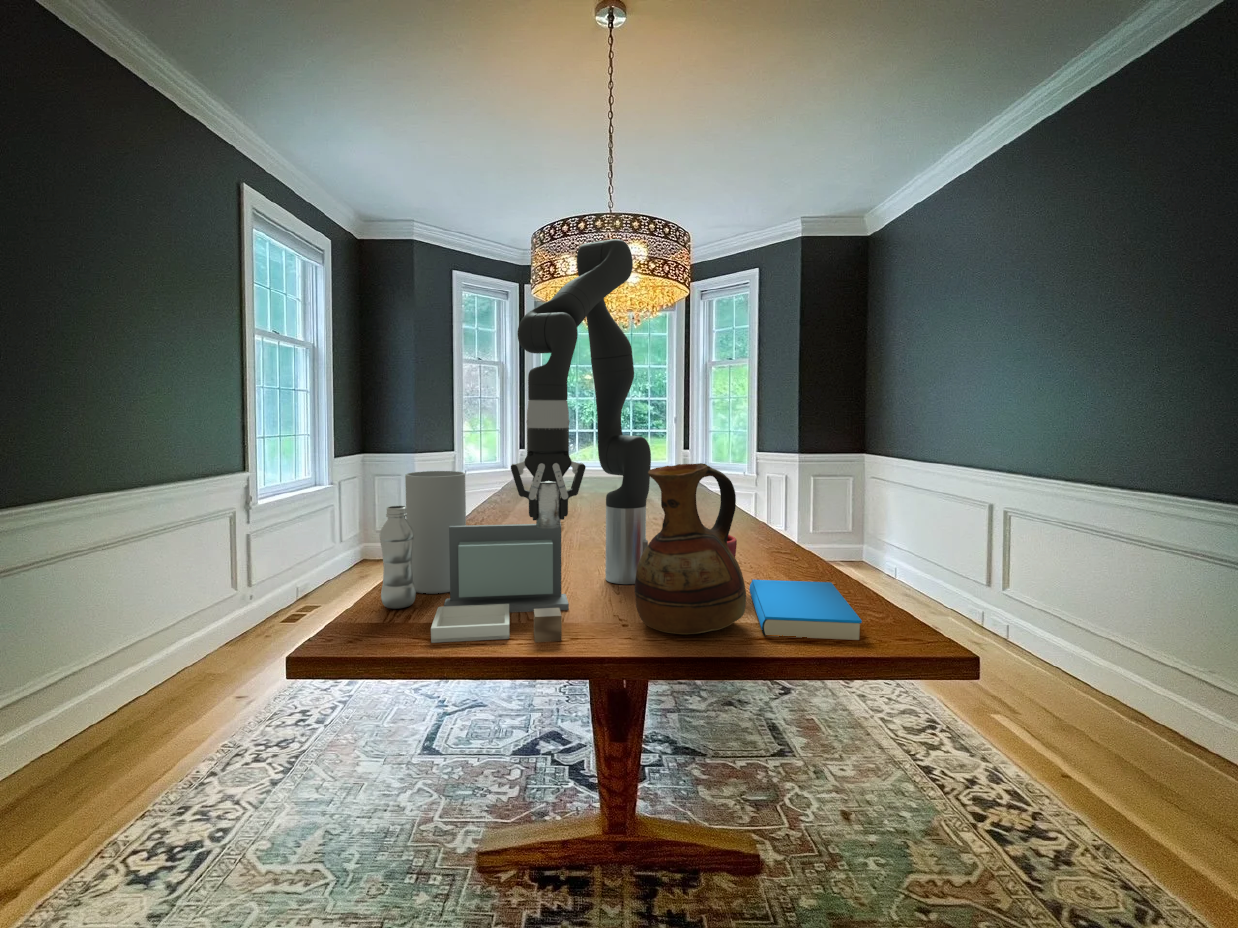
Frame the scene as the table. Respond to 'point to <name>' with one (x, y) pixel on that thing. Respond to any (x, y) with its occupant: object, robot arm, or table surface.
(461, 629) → the tray
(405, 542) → the plastic bottle
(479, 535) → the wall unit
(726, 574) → the ceramic pitcher
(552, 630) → the walnut block
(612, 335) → the robot arm
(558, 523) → the steel cylinder
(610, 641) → the table surface
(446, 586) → the cylinder vase
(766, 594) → the book
